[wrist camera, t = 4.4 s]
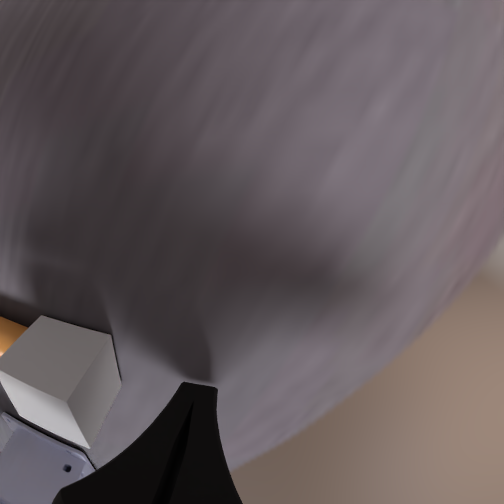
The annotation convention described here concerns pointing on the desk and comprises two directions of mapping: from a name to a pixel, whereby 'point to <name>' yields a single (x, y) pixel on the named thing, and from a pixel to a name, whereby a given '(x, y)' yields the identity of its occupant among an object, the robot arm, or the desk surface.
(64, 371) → the plug
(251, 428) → the desk surface
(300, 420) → the desk surface
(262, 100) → the desk surface
